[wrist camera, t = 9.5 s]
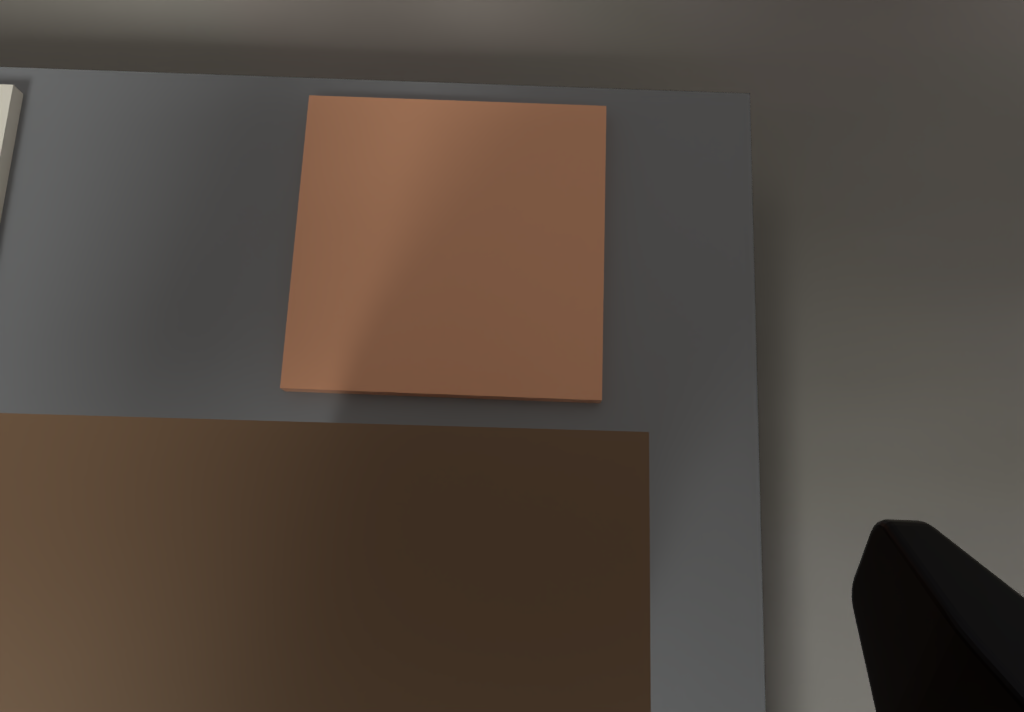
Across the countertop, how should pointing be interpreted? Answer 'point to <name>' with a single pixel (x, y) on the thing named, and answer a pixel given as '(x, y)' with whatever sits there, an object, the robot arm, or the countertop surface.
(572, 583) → the brown wooden block
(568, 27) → the countertop surface
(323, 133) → the socket block
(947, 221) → the countertop surface
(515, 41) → the countertop surface
